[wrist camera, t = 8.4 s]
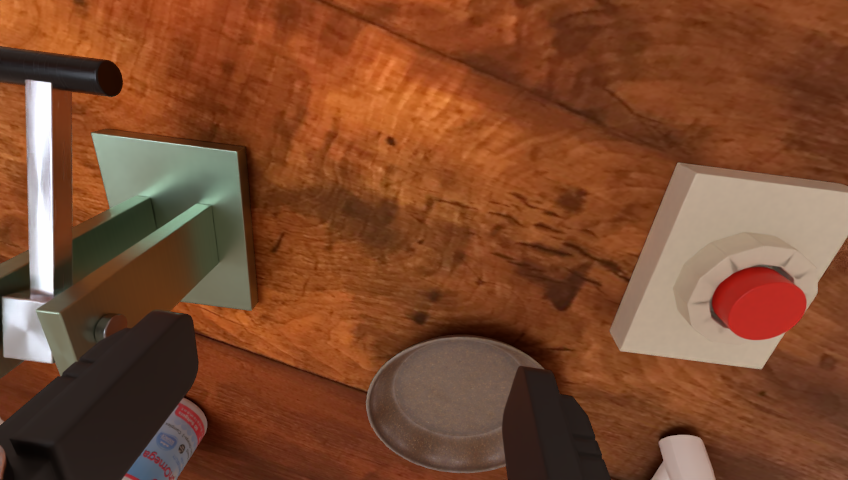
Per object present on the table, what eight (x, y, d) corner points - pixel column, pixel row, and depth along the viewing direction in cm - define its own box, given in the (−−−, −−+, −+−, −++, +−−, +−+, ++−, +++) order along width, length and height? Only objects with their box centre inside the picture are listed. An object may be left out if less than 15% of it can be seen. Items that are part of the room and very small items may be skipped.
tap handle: (15, 53, 18) (-47, 34, 16) (131, 68, 18) (86, 52, 16) (22, 332, 20) (-32, 353, 18) (127, 346, 20) (86, 368, 18)
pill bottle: (219, 436, 39) (137, 576, 29) (160, 438, 39) (60, 576, 29) (195, 388, 36) (95, 525, 26) (132, 392, 37) (11, 526, 27)
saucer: (583, 407, 34) (593, 435, 32) (437, 466, 39) (437, 495, 36) (490, 281, 29) (494, 303, 27) (335, 366, 34) (327, 391, 31)
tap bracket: (105, 128, 26) (-168, 201, 15) (246, 146, 26) (84, 233, 15) (141, 286, 31) (-36, 430, 20) (258, 301, 31) (147, 454, 20)
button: (728, 262, 24) (748, 278, 22) (797, 270, 24) (822, 287, 22) (700, 317, 25) (716, 336, 24) (764, 325, 25) (784, 345, 24)
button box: (676, 162, 25) (715, 183, 21) (841, 183, 25) (907, 208, 21) (608, 331, 31) (629, 370, 27) (741, 348, 31) (780, 389, 27)
